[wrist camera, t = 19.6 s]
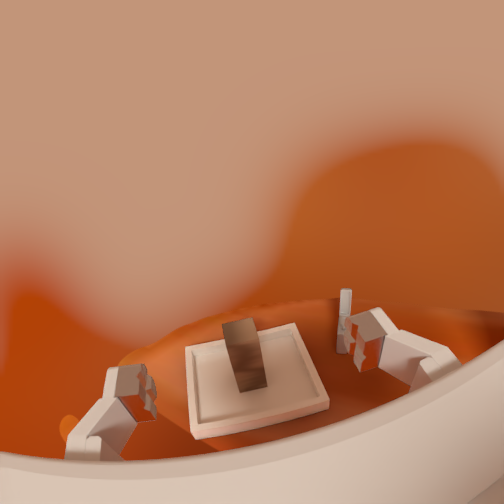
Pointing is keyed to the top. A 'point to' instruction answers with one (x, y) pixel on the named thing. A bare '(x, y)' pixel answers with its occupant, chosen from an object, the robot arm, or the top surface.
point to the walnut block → (245, 354)
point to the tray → (256, 401)
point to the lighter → (343, 318)
